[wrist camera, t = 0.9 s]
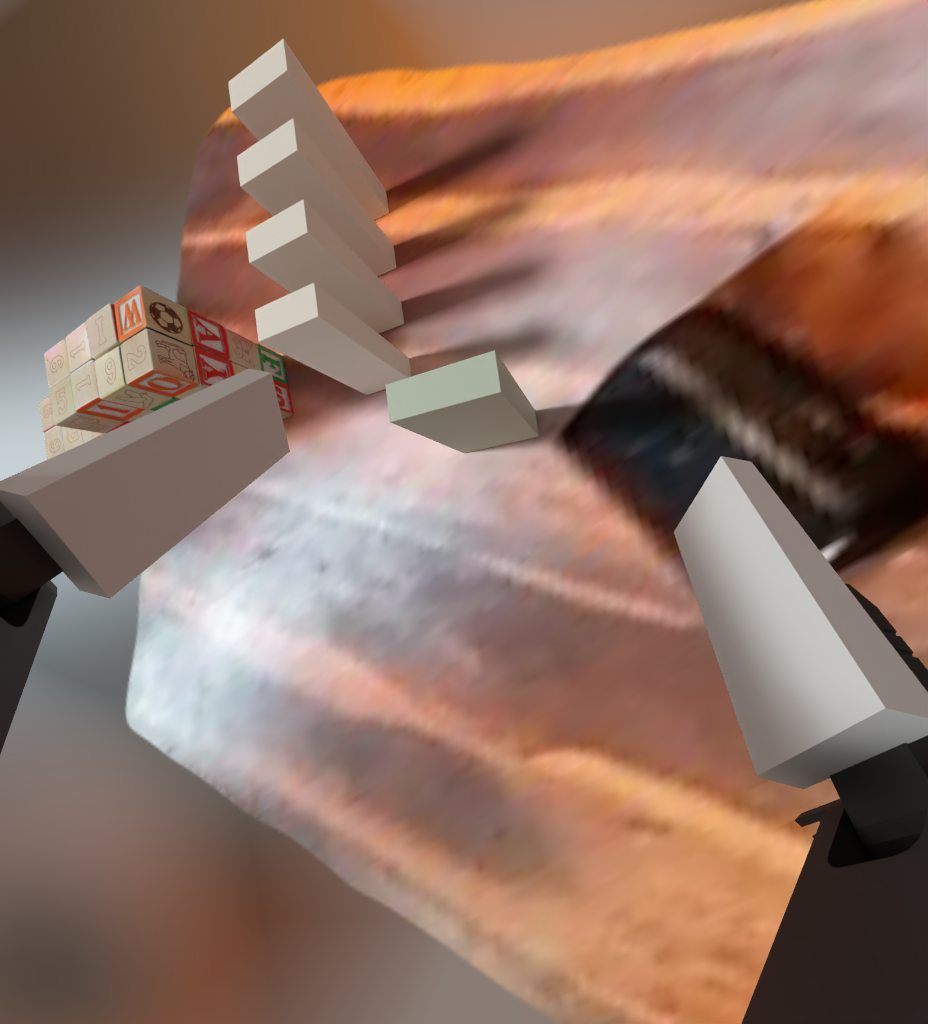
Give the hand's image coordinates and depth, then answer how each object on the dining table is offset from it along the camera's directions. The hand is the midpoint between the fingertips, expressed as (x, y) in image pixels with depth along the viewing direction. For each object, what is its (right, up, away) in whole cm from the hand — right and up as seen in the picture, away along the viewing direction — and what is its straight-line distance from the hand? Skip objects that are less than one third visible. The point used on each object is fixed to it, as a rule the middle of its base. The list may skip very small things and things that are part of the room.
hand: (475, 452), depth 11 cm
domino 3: (-8, +15, +21) cm, 27 cm away
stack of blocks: (-27, +8, +29) cm, 40 cm away
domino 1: (-9, +25, +21) cm, 34 cm away
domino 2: (-8, +20, +21) cm, 30 cm away
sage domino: (+2, +4, +17) cm, 18 cm away
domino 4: (-7, +10, +21) cm, 24 cm away
